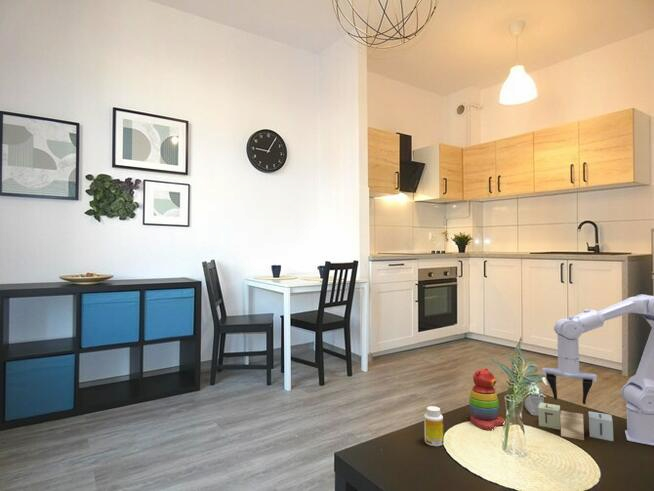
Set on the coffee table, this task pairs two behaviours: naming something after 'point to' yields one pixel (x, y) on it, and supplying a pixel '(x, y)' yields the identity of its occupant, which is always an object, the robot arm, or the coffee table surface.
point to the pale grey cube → (600, 426)
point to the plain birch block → (572, 425)
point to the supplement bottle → (433, 426)
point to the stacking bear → (484, 401)
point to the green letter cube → (549, 415)
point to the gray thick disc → (533, 404)
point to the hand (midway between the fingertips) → (569, 400)
